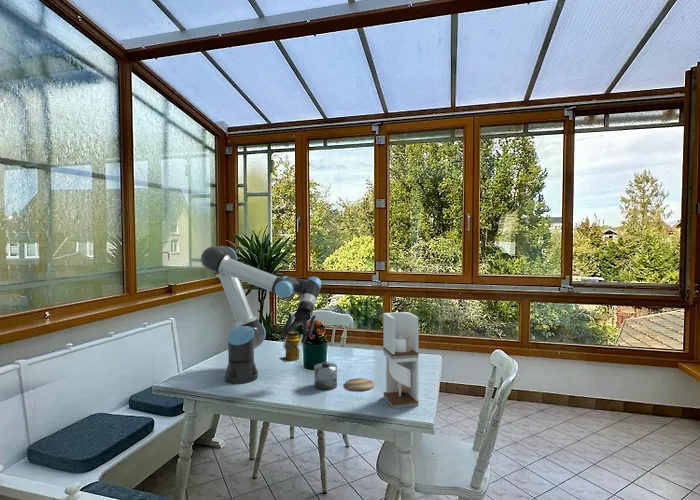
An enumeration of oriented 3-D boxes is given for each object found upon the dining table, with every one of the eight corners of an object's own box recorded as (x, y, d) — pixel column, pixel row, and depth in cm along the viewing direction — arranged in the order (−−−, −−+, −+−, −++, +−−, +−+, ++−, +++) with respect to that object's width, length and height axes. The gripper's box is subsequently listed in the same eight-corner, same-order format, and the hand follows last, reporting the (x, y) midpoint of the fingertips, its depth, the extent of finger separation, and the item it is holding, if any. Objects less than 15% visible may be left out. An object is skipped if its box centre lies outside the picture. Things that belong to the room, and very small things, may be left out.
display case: (383, 397, 167) (383, 313, 166) (407, 394, 170) (407, 311, 169) (392, 408, 156) (392, 318, 155) (418, 405, 159) (418, 317, 157)
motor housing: (311, 384, 182) (310, 361, 181) (331, 380, 186) (330, 358, 186) (320, 392, 173) (319, 367, 173) (340, 387, 178) (340, 364, 177)
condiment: (302, 360, 178) (303, 333, 177) (284, 363, 173) (285, 335, 173) (295, 355, 184) (296, 329, 183) (278, 358, 179) (278, 331, 179)
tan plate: (339, 383, 183) (339, 381, 183) (364, 378, 189) (364, 376, 189) (353, 393, 172) (353, 390, 172) (379, 387, 178) (379, 385, 178)
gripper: (327, 311, 192) (313, 354, 177) (290, 308, 198) (274, 350, 183) (323, 301, 187) (309, 345, 172) (285, 299, 193) (269, 342, 178)
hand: (291, 348), depth 177 cm, fingers closed on condiment, 6 cm apart
